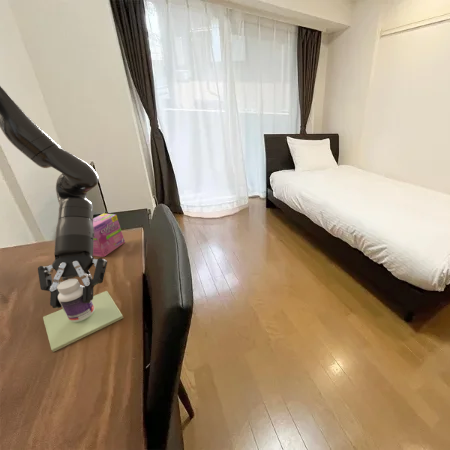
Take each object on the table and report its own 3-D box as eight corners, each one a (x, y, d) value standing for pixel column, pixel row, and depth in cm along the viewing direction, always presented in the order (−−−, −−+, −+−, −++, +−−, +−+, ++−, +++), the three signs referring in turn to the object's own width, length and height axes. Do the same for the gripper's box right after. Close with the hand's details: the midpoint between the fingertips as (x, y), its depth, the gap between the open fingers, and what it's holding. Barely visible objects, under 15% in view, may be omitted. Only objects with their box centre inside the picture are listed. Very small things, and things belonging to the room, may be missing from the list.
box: (104, 257, 94) (92, 227, 88) (89, 256, 94) (77, 225, 89) (126, 242, 103) (116, 214, 98) (112, 241, 104) (102, 213, 98)
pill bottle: (99, 311, 69) (86, 281, 65) (75, 325, 65) (59, 294, 60) (88, 303, 71) (75, 273, 67) (64, 317, 67) (48, 286, 63)
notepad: (52, 352, 60) (51, 350, 59) (43, 319, 68) (42, 316, 68) (123, 318, 69) (122, 315, 68) (107, 292, 77) (106, 290, 77)
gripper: (30, 237, 64) (23, 311, 59) (100, 229, 68) (99, 298, 63) (51, 245, 71) (46, 312, 66) (113, 238, 75) (113, 300, 70)
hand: (72, 305), depth 64 cm, fingers closed on pill bottle, 5 cm apart
